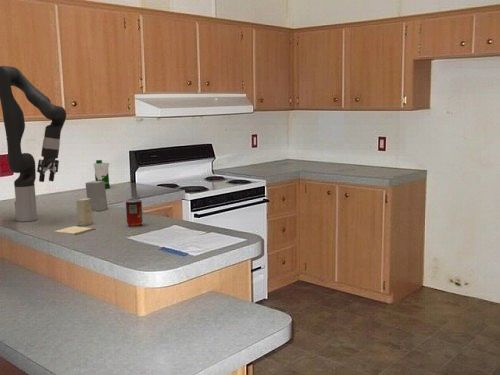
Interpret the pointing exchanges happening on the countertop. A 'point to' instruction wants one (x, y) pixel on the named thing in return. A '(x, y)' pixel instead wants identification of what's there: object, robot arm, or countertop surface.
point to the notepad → (75, 230)
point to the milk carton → (102, 172)
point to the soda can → (134, 212)
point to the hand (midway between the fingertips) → (46, 181)
